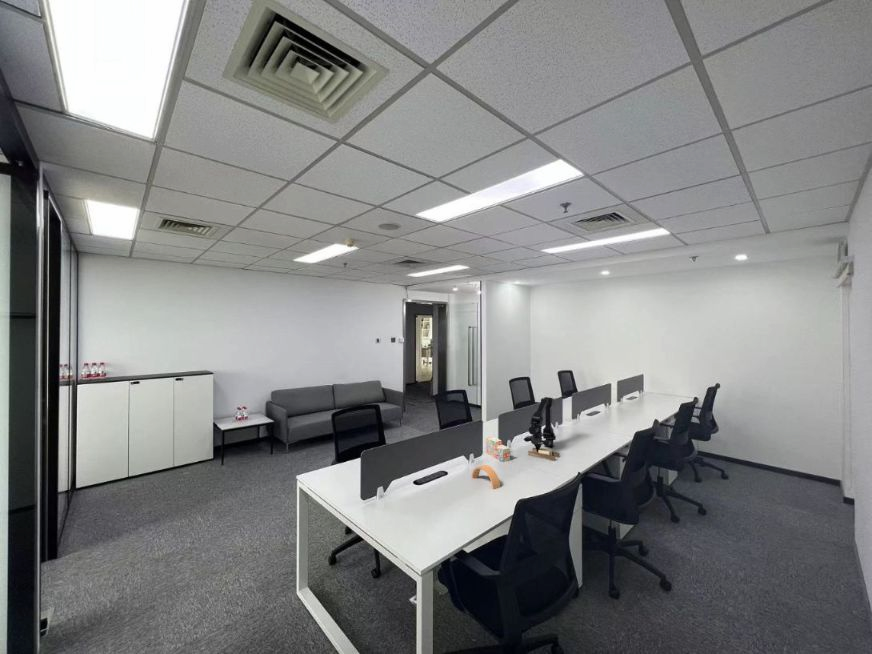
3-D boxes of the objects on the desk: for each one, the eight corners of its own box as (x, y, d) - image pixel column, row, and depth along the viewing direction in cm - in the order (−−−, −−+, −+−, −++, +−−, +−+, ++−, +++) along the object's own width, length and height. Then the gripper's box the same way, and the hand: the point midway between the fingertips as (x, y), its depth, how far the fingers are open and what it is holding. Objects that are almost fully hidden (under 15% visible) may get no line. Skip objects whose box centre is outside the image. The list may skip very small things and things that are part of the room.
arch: (493, 490, 205) (493, 473, 205) (471, 478, 222) (471, 462, 222) (500, 487, 208) (500, 470, 209) (478, 476, 225) (478, 460, 225)
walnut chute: (533, 451, 270) (533, 447, 270) (559, 456, 258) (559, 452, 258) (528, 455, 262) (528, 451, 262) (554, 461, 250) (554, 456, 250)
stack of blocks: (509, 461, 251) (509, 443, 251) (502, 462, 249) (502, 445, 249) (492, 451, 270) (492, 436, 271) (486, 453, 268) (485, 437, 268)
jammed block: (541, 453, 264) (541, 447, 264) (552, 456, 259) (551, 450, 259) (538, 456, 259) (538, 450, 259) (549, 458, 254) (549, 452, 254)
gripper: (521, 431, 262) (521, 452, 262) (545, 436, 251) (546, 458, 251) (527, 428, 271) (527, 448, 271) (551, 432, 260) (551, 453, 259)
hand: (537, 452), depth 263 cm, fingers closed
